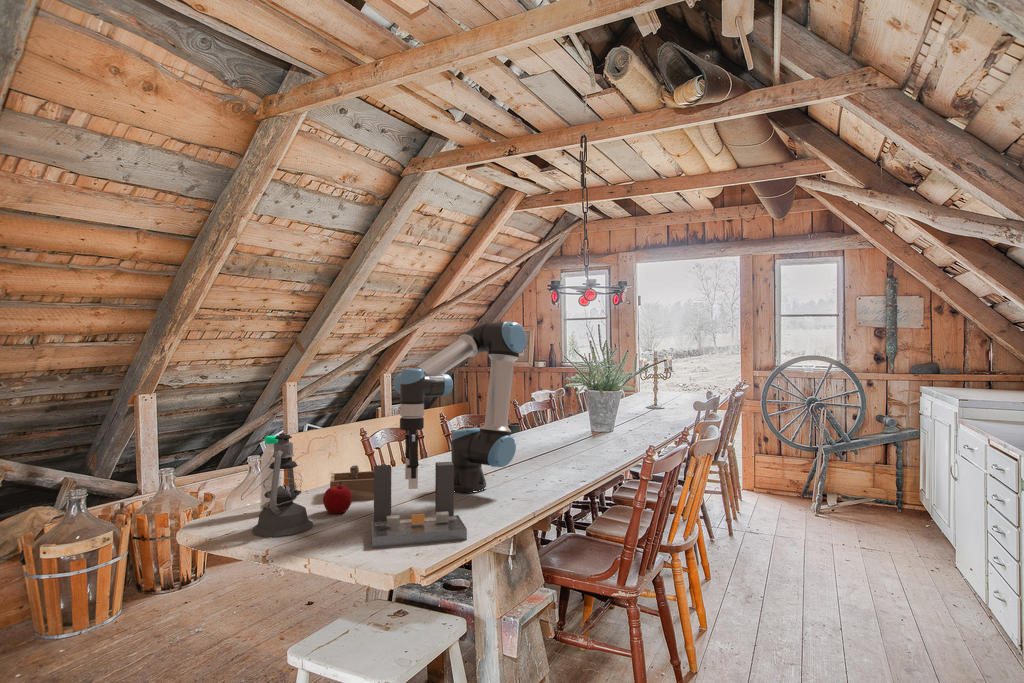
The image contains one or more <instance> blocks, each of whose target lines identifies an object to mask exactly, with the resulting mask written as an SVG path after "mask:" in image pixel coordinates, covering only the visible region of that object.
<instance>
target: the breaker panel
mask: <svg viewBox="0 0 1024 683" xmlns="http://www.w3.org/2000/svg"><path fill="white" fill-rule="evenodd" d="M370 537H371V548H372V549H378V548H389V547H401V546H412V545H423V544H432V543H433V544H435V543H444V542H445V543H446V541H447V542H455V541H458V540H459V541H466V540H467V541H468V528H467V527H466V525H465V524H464V522H463V520H462V519H461V517H460V515H458V514H456V515H454V516H449V513H448V511H447V512H436V517H435V516H432V517H431V516H430V517H429V516H428V517H424V523H421V524H411V518H404V519H401V515H400V514H396V515H391V516H387V521H376V522H374V521H371V522H370ZM459 541H458V542H459Z"/></svg>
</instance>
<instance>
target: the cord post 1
mask: <svg viewBox="0 0 1024 683" xmlns="http://www.w3.org/2000/svg"><path fill="white" fill-rule="evenodd" d="M373 471H374V499H373V522H376V521H387V516H392V466H391V464H384V465H383V464H379V465H373Z"/></svg>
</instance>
